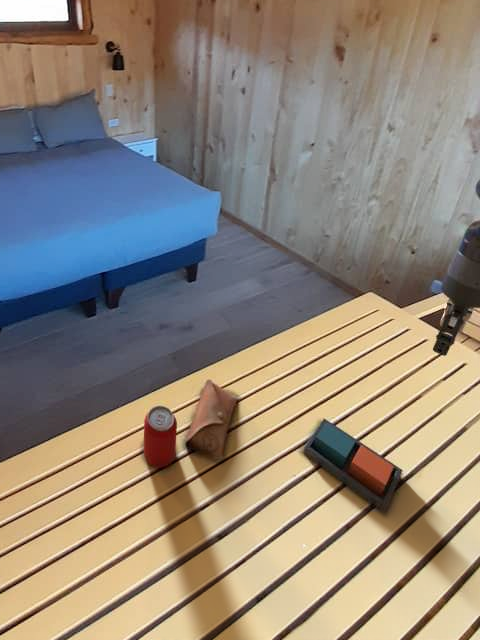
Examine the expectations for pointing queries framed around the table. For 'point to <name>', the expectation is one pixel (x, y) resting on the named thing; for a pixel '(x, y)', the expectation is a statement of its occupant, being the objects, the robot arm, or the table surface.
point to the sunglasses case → (211, 421)
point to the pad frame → (343, 473)
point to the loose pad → (370, 470)
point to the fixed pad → (334, 445)
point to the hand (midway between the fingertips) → (444, 341)
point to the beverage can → (160, 436)
